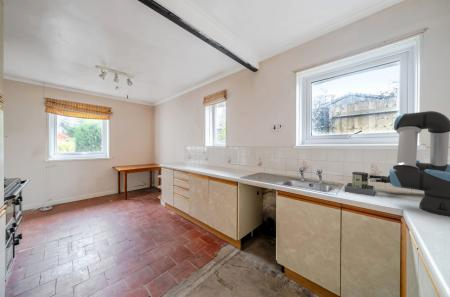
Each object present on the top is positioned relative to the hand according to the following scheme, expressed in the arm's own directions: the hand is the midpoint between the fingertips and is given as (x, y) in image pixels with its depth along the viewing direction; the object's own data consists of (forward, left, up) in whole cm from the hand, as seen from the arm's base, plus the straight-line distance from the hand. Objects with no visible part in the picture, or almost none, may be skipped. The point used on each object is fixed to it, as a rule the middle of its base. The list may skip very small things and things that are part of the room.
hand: (365, 178), depth 136 cm
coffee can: (+1, +4, -10) cm, 10 cm away
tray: (+1, +4, -10) cm, 11 cm away
